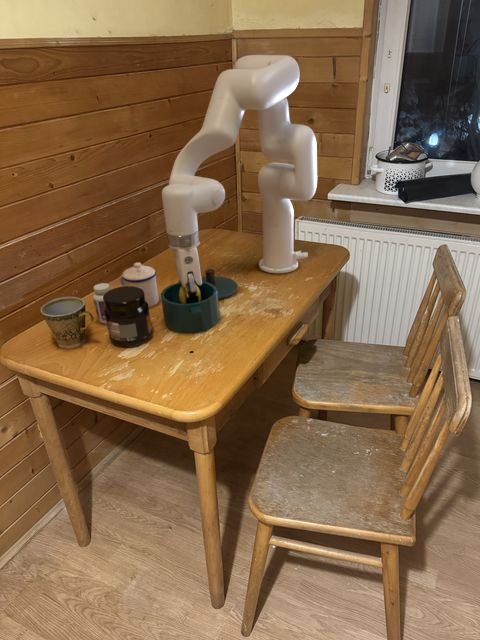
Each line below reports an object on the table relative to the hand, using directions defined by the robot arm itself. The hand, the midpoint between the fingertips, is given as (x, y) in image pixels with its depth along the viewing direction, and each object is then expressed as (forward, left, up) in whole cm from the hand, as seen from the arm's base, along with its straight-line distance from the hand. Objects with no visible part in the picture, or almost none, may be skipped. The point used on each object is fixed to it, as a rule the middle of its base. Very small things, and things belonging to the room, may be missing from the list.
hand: (191, 304), depth 131 cm
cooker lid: (-9, -16, -4) cm, 18 cm away
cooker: (0, 0, -4) cm, 4 cm away
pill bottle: (+21, -8, -4) cm, 23 cm away
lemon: (0, 0, -2) cm, 2 cm away
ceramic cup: (+29, +2, -4) cm, 30 cm away
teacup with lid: (+12, -16, -4) cm, 21 cm away
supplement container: (+16, +4, -4) cm, 17 cm away
